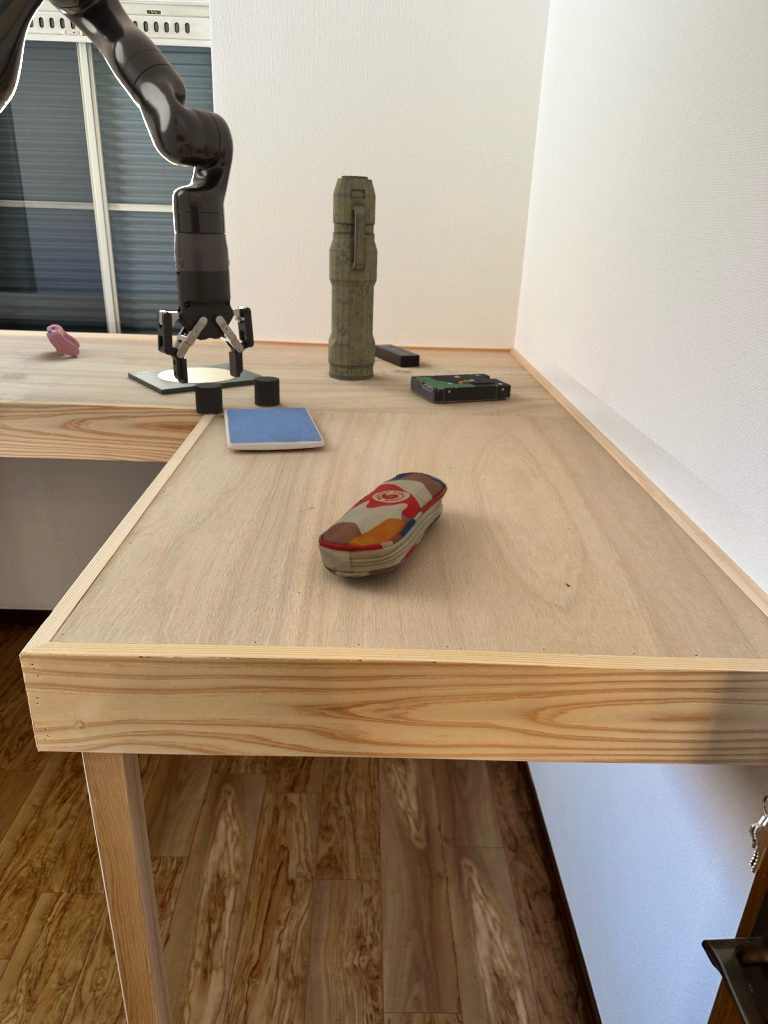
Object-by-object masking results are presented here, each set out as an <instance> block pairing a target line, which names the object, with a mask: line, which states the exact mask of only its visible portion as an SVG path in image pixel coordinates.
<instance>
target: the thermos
mask: <svg viewBox="0 0 768 1024" xmlns="http://www.w3.org/2000/svg"><path fill="white" fill-rule="evenodd" d="M374 187H375V186H374V184H373V180H372V179H370V178H369V177H368V176H363V175H341V177H338V178H337V180H336V182H335V186H334V189H333V193H332V224H333V232H332V240H331V243H330V246H329V251H328V253H329V254H328V255H329V256H328V258H329V259H328V271H329V272H328V280H329V282H330V285H331V316H330V317H331V318H330V319H331V324H330V325H331V326H330V328H331V331H330V335H329V338H328V343H327V344H328V345H327V346H328V349H327V350H328V351H327V352H328V354H327V361H328V364H329V371H328V376H329V377H330V378H333V379H337V380H343V381H364V380H370V379H373V378H374V375H375V373H374V366H375V363H376V356H375V345H376V341H375V337H374V335H373V333H374V300H375V297H374V296H375V285H376V283H377V280H378V255H379V254H378V248H377V245H376V240H375V237H376V235H375V234H376V233H375V225H376V203H377V201H376V199H377V197H376V196H377V195H376V191H375V188H374Z"/></svg>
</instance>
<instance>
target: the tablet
mask: <svg viewBox="0 0 768 1024" xmlns="http://www.w3.org/2000/svg"><path fill="white" fill-rule="evenodd" d="M223 416H224V417H223V418H224V427H225V439H226V447H227V448H228V449H229V450H233V451H235V450H236V451H274V450H275V451H277V450H298V449H313V448H320V447H323V446H325V445H326V442H325V439H324V438H323V436H322V434H321V432H320V430H319V428H318V426H317V424H316V423H315V421H314V418H313V416H312V414H311V413H310V411H309V409H308V408H307V407H255V408H254V407H253V408H252V407H250V408H249V407H248V408H245V407H244V408H226V409H225V410H223Z"/></svg>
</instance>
